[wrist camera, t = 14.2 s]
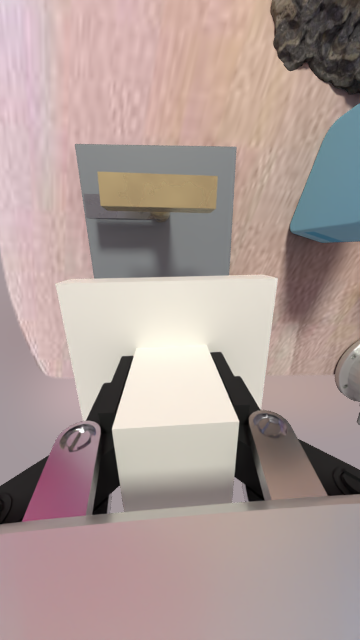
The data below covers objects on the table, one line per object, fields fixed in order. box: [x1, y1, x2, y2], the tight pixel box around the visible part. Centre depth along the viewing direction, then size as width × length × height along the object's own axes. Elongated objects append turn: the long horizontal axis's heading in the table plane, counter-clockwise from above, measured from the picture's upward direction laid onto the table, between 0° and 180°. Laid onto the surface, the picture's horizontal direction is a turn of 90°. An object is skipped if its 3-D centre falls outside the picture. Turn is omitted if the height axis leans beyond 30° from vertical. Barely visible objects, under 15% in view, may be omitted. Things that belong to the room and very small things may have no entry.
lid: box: [56, 275, 278, 512], centre depth 9 cm, size 10×10×6 cm
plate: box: [75, 144, 236, 279], centre depth 26 cm, size 22×16×3 cm
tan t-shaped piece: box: [84, 172, 218, 222], centre depth 18 cm, size 11×2×9 cm, turn 90°
